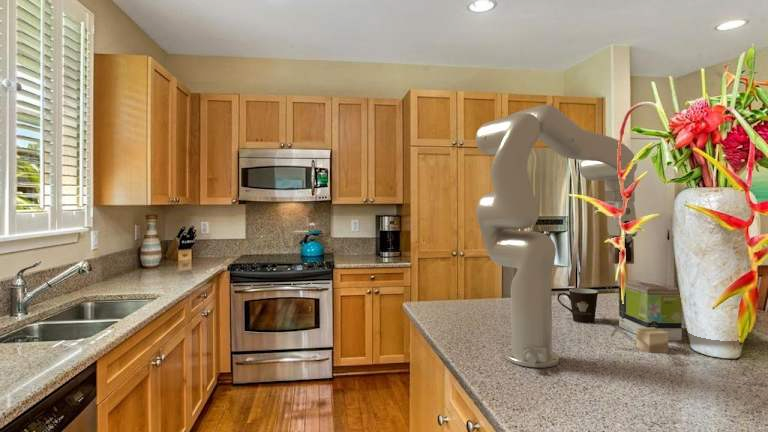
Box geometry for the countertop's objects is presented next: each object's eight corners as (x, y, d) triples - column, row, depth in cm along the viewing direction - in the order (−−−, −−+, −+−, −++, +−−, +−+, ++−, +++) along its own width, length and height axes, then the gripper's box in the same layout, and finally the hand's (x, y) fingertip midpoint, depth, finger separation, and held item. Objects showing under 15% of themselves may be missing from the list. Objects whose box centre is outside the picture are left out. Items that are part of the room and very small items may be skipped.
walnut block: (634, 263, 118) (633, 239, 118) (614, 263, 119) (614, 239, 119) (627, 261, 123) (626, 237, 123) (608, 261, 124) (608, 238, 124)
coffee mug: (603, 321, 137) (603, 291, 137) (589, 325, 132) (589, 294, 132) (570, 314, 146) (570, 286, 146) (555, 318, 142) (555, 289, 141)
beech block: (668, 352, 107) (667, 332, 107) (649, 352, 107) (649, 333, 107) (654, 345, 112) (654, 327, 112) (636, 346, 112) (636, 327, 112)
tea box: (683, 341, 116) (683, 288, 116) (647, 341, 116) (646, 288, 116) (650, 326, 131) (649, 279, 131) (617, 326, 131) (617, 279, 131)
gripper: (646, 196, 112) (648, 263, 112) (622, 197, 129) (624, 256, 129) (616, 197, 113) (617, 264, 114) (596, 198, 130) (598, 256, 130)
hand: (621, 259), depth 121 cm, fingers closed on walnut block, 5 cm apart
